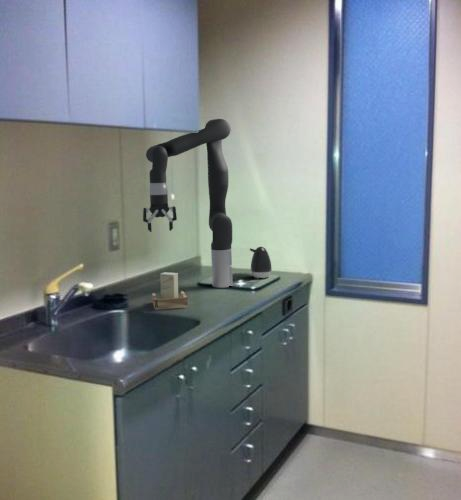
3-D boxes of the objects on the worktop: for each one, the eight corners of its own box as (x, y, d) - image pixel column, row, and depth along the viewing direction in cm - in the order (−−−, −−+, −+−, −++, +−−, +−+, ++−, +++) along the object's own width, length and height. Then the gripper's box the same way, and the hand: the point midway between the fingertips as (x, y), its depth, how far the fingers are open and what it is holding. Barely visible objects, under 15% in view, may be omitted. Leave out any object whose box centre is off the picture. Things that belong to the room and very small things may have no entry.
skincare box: (160, 303, 258) (159, 274, 256) (165, 300, 262) (164, 271, 260) (174, 304, 255) (173, 274, 253) (179, 301, 259) (178, 272, 258)
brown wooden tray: (152, 302, 264) (152, 293, 263) (183, 300, 266) (183, 290, 265) (155, 310, 251) (154, 300, 250) (187, 307, 253) (187, 297, 253)
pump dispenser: (251, 275, 313) (250, 245, 311) (272, 275, 312) (271, 244, 310) (249, 279, 303) (248, 248, 301) (271, 279, 302) (270, 248, 300)
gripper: (174, 192, 275) (175, 229, 278) (141, 193, 272) (143, 231, 275) (176, 193, 268) (178, 231, 270) (142, 194, 265) (144, 233, 268)
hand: (160, 231), depth 273 cm, fingers open, 8 cm apart
